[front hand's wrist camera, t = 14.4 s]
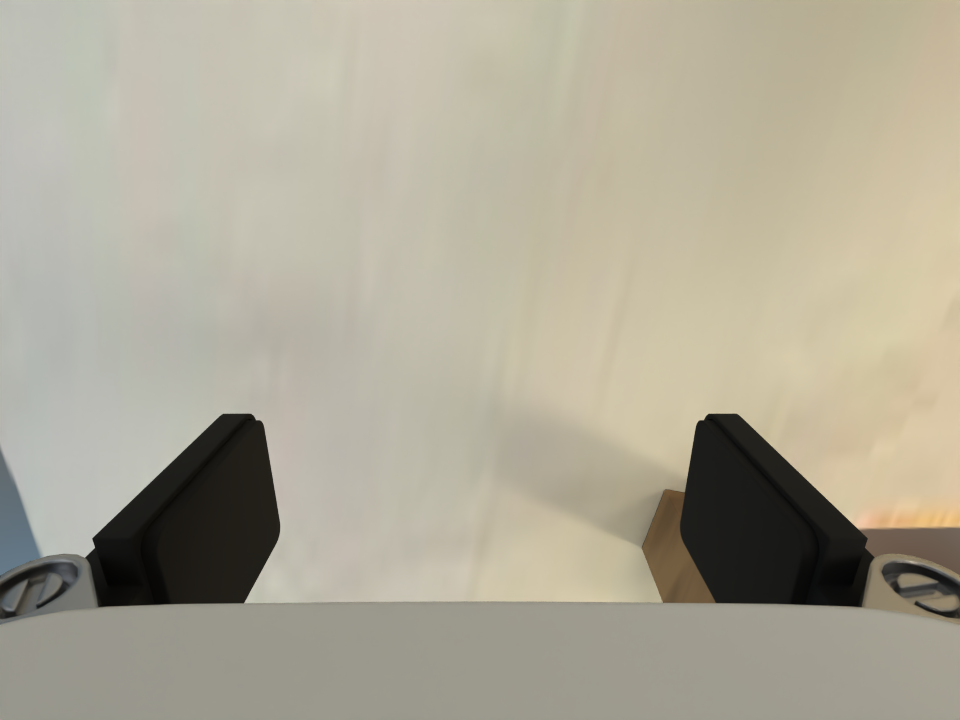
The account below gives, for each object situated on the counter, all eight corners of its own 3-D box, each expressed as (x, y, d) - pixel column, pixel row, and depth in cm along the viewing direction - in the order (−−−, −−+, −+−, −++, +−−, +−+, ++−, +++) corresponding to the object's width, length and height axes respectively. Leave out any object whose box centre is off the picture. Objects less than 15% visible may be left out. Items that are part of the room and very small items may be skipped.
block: (721, 498, 39) (810, 630, 28) (695, 557, 41) (769, 700, 30) (664, 488, 39) (732, 617, 28) (641, 548, 41) (696, 689, 30)
